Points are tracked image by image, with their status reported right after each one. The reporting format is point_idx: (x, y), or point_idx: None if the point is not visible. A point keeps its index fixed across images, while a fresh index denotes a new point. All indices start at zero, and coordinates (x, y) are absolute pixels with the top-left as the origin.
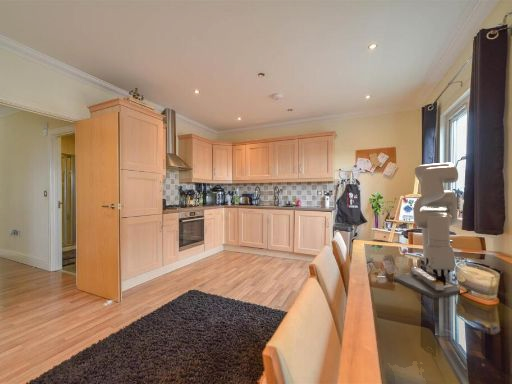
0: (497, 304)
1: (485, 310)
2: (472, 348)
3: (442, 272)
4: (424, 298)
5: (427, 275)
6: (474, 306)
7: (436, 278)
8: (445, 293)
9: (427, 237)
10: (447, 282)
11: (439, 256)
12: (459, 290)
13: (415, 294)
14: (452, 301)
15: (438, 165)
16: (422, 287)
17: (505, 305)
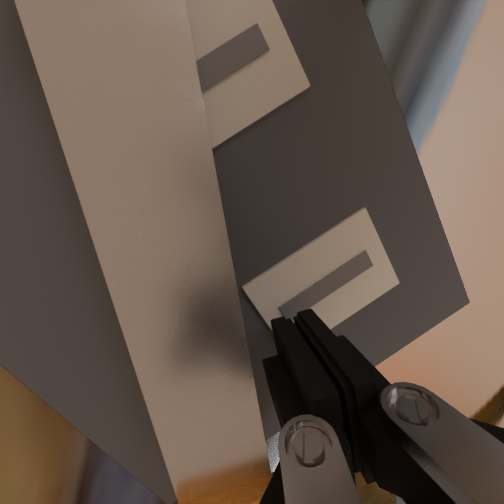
0: (475, 417)
1: (381, 501)
2: None
3: (422, 479)
4: (103, 493)
5: (186, 287)
6: (357, 481)
7: (272, 393)
8: (267, 434)
9: None
10: (390, 195)
11: None
12: (390, 354)
13: (42, 455)
14: (273, 467)
15: None
16: (105, 395)
17: (500, 415)
